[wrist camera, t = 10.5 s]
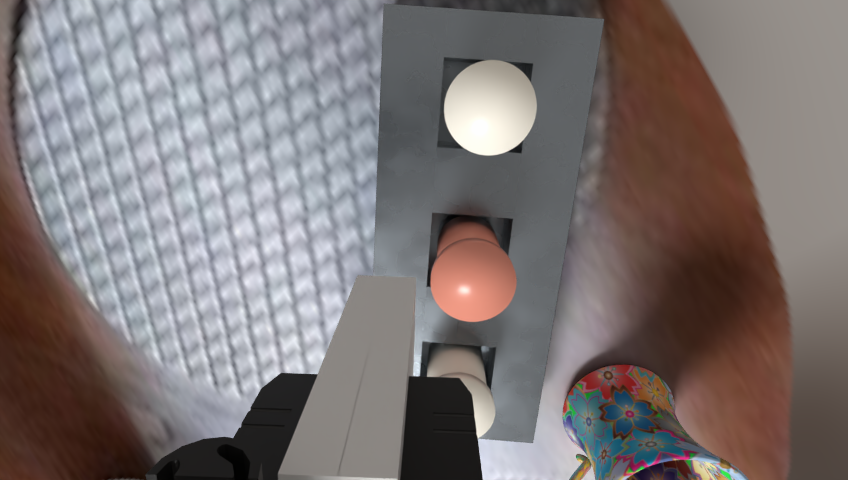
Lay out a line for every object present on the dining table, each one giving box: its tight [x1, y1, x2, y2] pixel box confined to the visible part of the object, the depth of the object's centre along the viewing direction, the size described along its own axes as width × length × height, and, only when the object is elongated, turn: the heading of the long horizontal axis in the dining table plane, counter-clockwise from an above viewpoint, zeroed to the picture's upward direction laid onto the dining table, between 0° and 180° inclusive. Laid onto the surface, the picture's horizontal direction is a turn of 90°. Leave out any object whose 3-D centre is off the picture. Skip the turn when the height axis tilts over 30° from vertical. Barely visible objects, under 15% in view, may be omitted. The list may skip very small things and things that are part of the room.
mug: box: [563, 365, 748, 480], centre depth 33 cm, size 12×9×11 cm
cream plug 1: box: [444, 60, 537, 155], centre depth 27 cm, size 5×5×7 cm
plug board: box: [373, 4, 604, 443], centre depth 32 cm, size 12×28×4 cm, turn 176°
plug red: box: [431, 215, 517, 322], centre depth 29 cm, size 5×5×7 cm
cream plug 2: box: [427, 342, 495, 438], centre depth 32 cm, size 5×5×7 cm
